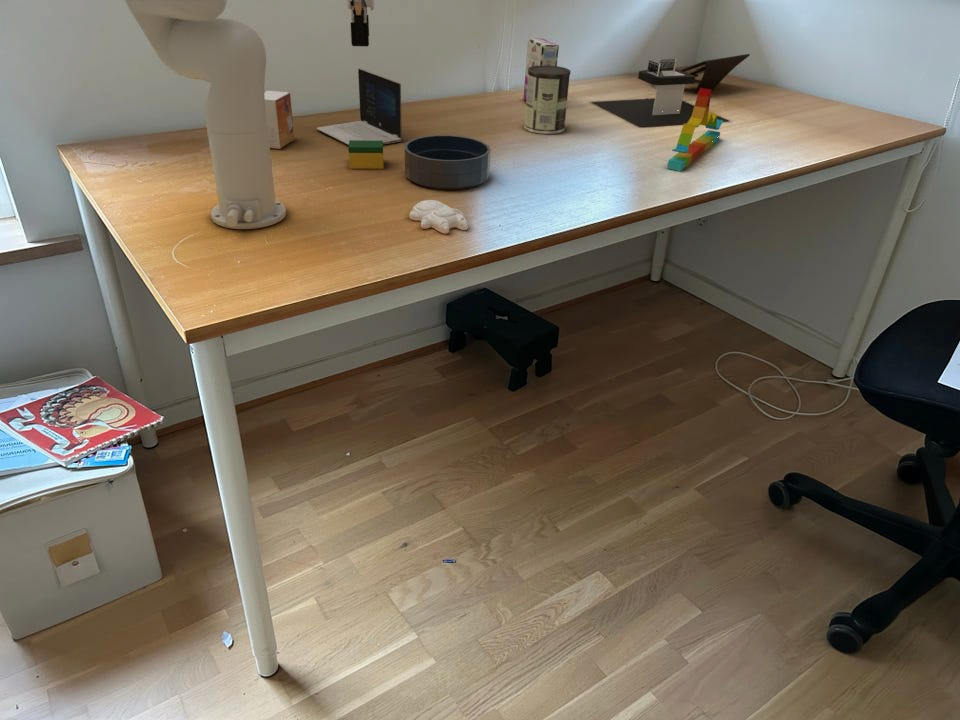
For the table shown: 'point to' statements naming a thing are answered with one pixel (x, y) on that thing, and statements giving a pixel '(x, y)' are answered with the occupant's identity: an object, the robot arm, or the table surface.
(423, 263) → the table surface
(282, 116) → the small box
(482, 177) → the bowl
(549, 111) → the coffee can
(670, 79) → the black-topped pedestal
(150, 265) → the table surface
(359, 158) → the sponge
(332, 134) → the laptop
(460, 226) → the white flat figure
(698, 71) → the laptop tray
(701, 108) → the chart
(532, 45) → the candy bar box
